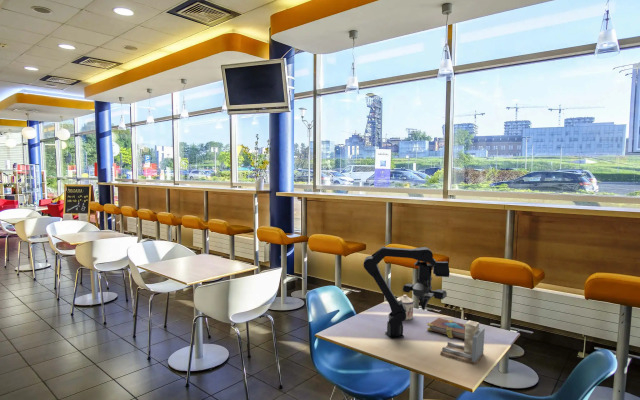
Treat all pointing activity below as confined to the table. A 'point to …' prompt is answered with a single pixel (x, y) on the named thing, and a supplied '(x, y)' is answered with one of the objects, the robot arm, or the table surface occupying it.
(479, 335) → the backstop wall
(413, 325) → the table surface
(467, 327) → the ash block
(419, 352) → the table surface
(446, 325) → the book
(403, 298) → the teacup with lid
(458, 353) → the rail board
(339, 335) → the table surface
